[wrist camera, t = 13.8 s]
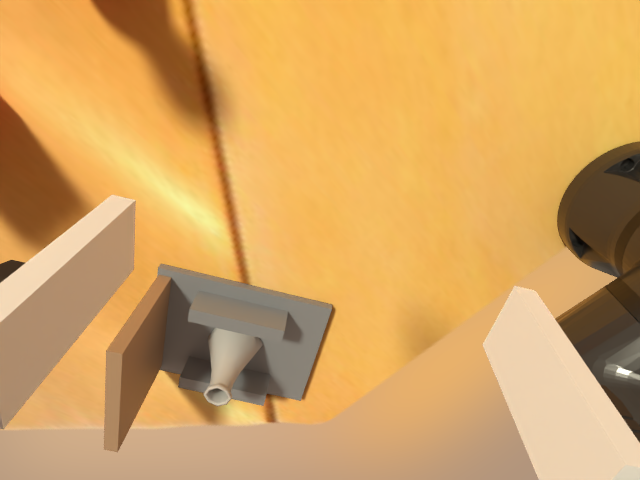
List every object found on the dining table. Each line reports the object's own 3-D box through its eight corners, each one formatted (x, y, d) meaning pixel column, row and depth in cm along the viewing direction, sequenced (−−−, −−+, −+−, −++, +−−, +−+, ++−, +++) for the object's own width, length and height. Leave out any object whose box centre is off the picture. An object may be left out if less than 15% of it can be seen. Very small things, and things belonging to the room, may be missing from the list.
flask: (272, 344, 60) (260, 402, 51) (234, 366, 62) (216, 425, 53) (237, 310, 57) (218, 365, 48) (199, 334, 60) (174, 391, 51)
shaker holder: (332, 304, 57) (328, 392, 44) (301, 395, 66) (290, 492, 53) (161, 263, 55) (104, 342, 42) (151, 362, 64) (102, 454, 51)
